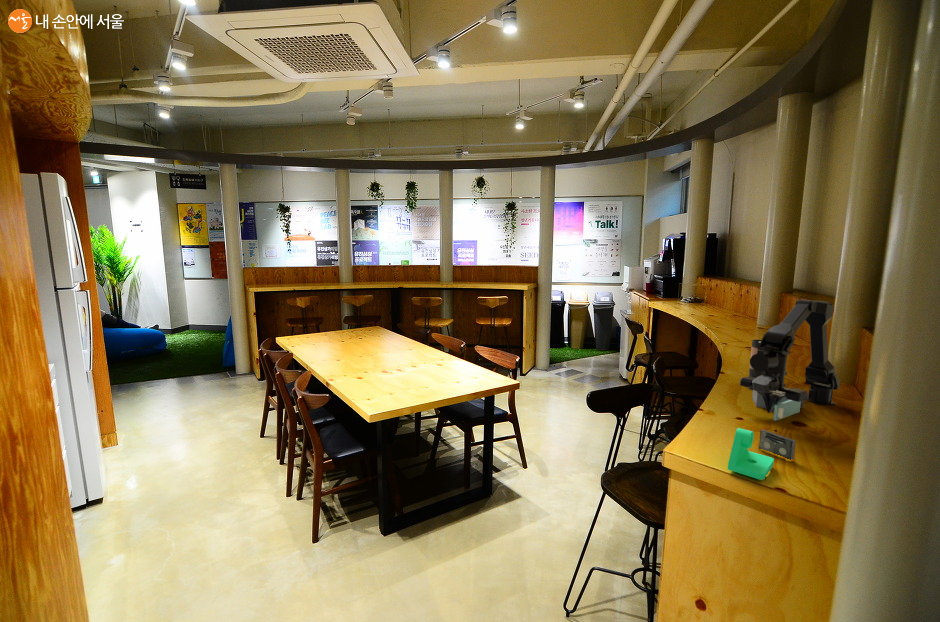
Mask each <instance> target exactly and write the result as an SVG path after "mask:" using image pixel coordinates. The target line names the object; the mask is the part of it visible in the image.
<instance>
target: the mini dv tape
mask: <svg viewBox="0 0 940 622" xmlns="http://www.w3.org/2000/svg"><path fill="white" fill-rule="evenodd" d="M759 432H760V433H759V441H758V442H759V443H758V449H759V448H760V449H763V450H766V451H769V452H772V453H774V454H777V455H780V456H783V457H785V458H787V459H790V460H791V459H794V460H795V453H796V451H795V450H796V440H794V439H791V438H789V437H786V436H782V435H780V434H778V433H774V432H771V431H769V430H765V429H761V430H759Z"/></svg>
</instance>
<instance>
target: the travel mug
mask: <svg viewBox="0 0 940 622" xmlns="http://www.w3.org/2000/svg"><path fill="white" fill-rule="evenodd" d="M761 340H762V339H752V341H751V347H750V348H751V350H750V358H749V360H750V359H751V357H752V356H753V355H754V354H757V351H758V349H757V348H758V346H759V344H760V342H761ZM766 346H767V345H766ZM761 372H762V371H756V370H754V369H753V368H752V367H751V365H750V364H749V369H748V377H749V376H751V377H755V378H757V377H758V376H760V375H761ZM747 388H748V389H749V390H751V391H753V385H751V386H750V387H747Z"/></svg>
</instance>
